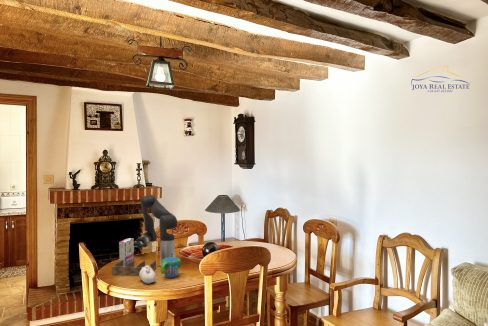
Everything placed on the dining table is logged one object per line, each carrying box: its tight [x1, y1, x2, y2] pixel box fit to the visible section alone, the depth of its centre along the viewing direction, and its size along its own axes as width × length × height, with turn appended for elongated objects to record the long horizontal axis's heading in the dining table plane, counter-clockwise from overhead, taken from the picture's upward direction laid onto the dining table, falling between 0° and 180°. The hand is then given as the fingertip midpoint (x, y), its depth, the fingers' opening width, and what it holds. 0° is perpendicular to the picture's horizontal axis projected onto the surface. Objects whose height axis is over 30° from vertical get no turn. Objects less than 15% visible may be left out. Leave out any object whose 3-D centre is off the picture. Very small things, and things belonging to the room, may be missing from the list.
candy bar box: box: [118, 237, 135, 266], centre depth 245 cm, size 11×5×16 cm, turn 168°
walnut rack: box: [111, 259, 157, 277], centre depth 230 cm, size 23×15×5 cm, turn 84°
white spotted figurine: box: [138, 264, 157, 284], centre depth 212 cm, size 10×8×15 cm
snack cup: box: [160, 256, 182, 279], centre depth 221 cm, size 16×10×10 cm
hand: (133, 247), depth 257 cm, fingers open, 8 cm apart
